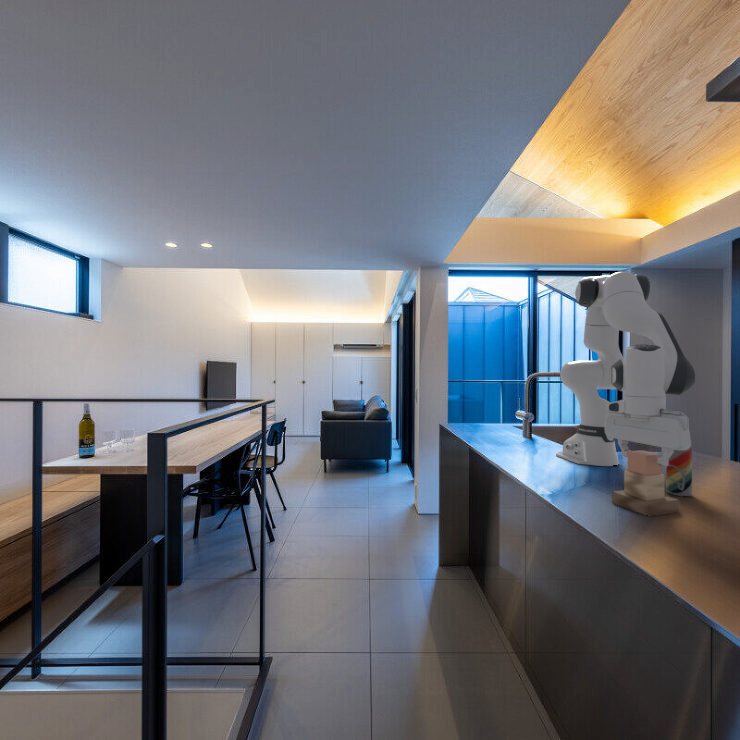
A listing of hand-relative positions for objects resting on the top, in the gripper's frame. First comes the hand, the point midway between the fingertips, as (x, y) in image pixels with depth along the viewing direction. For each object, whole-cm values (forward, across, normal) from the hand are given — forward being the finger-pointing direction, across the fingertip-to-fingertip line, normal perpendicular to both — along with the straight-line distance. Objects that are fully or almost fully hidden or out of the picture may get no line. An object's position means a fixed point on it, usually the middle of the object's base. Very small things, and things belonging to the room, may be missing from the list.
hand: (644, 461), depth 99 cm
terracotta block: (+3, 0, 0) cm, 3 cm away
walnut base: (+12, 0, 0) cm, 12 cm away
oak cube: (+9, 0, 0) cm, 9 cm away
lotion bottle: (+12, +5, -20) cm, 24 cm away
